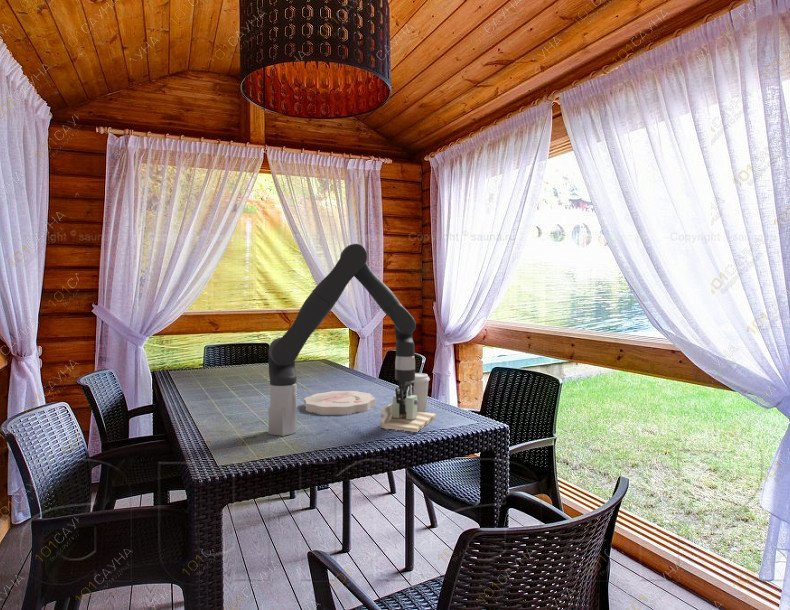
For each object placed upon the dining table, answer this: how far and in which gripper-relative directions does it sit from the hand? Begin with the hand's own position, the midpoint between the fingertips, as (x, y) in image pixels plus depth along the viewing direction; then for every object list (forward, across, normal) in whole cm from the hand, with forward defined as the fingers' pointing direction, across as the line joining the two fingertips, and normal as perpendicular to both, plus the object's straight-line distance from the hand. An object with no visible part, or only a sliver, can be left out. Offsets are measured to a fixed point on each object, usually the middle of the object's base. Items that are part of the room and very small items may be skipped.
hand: (405, 412), depth 186 cm
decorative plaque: (+4, +13, +35) cm, 38 cm away
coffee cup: (+4, +18, +1) cm, 18 cm away
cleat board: (+4, 0, -2) cm, 4 cm away
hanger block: (+2, 0, 0) cm, 2 cm away
